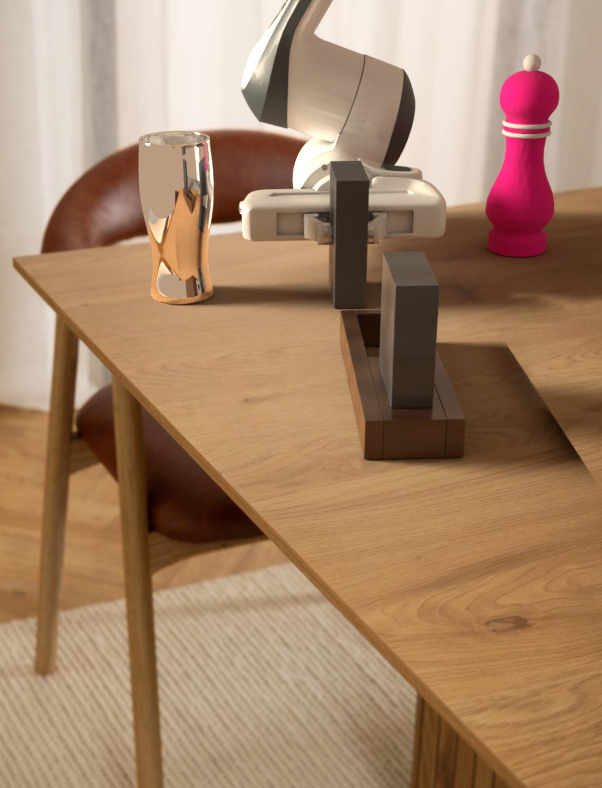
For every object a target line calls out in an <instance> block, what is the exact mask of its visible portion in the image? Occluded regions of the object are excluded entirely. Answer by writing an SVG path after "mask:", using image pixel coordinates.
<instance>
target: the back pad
mask: <svg viewBox="0 0 602 788" xmlns="http://www.w3.org/2000/svg"><path fill="white" fill-rule="evenodd" d="M368 210H369V179H368V177H367V174H366V172H365V169H364V167H363V164H362V162H361V161H330V212H329V223H332V226H333V235H332V238H333V244H332V245H328V286H329V290H330V295H331V300H332V304H333V308H334V309H366V308H367V286H368V285H367V284H368V283H367V282H368V281H367V280H368V279H367V278H368V277H367V276H368V246H369V244H368Z"/></svg>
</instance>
